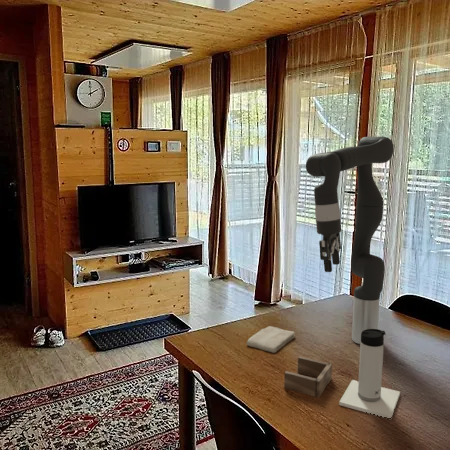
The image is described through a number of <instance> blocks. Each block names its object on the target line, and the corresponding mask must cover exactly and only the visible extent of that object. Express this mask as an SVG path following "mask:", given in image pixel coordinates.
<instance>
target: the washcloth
mask: <svg viewBox="0 0 450 450" xmlns="http://www.w3.org/2000/svg"><path fill="white" fill-rule="evenodd" d="M295 334H296V331H295V332H294V331H293V330H292V331H291V330H286V329H282V328H280V327H276V326H272V325H269V326H267V327H265V328H261V329H260V330H259V331H258V332H256V333H254V334H253V335H252V336H251V337H249V338H248V340H247V341H246V345H247V346H248V347H251V348H255V349H258V350H259V349H260V350H262V351H265V352H269V353H273V354H274V353H277V351H279V350H280V349H281V348H283V347H284V346H285V345H286V344H287V343H289V342H290V341H291V340H292V339H294V338H295V337H296V336H295Z"/></svg>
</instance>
